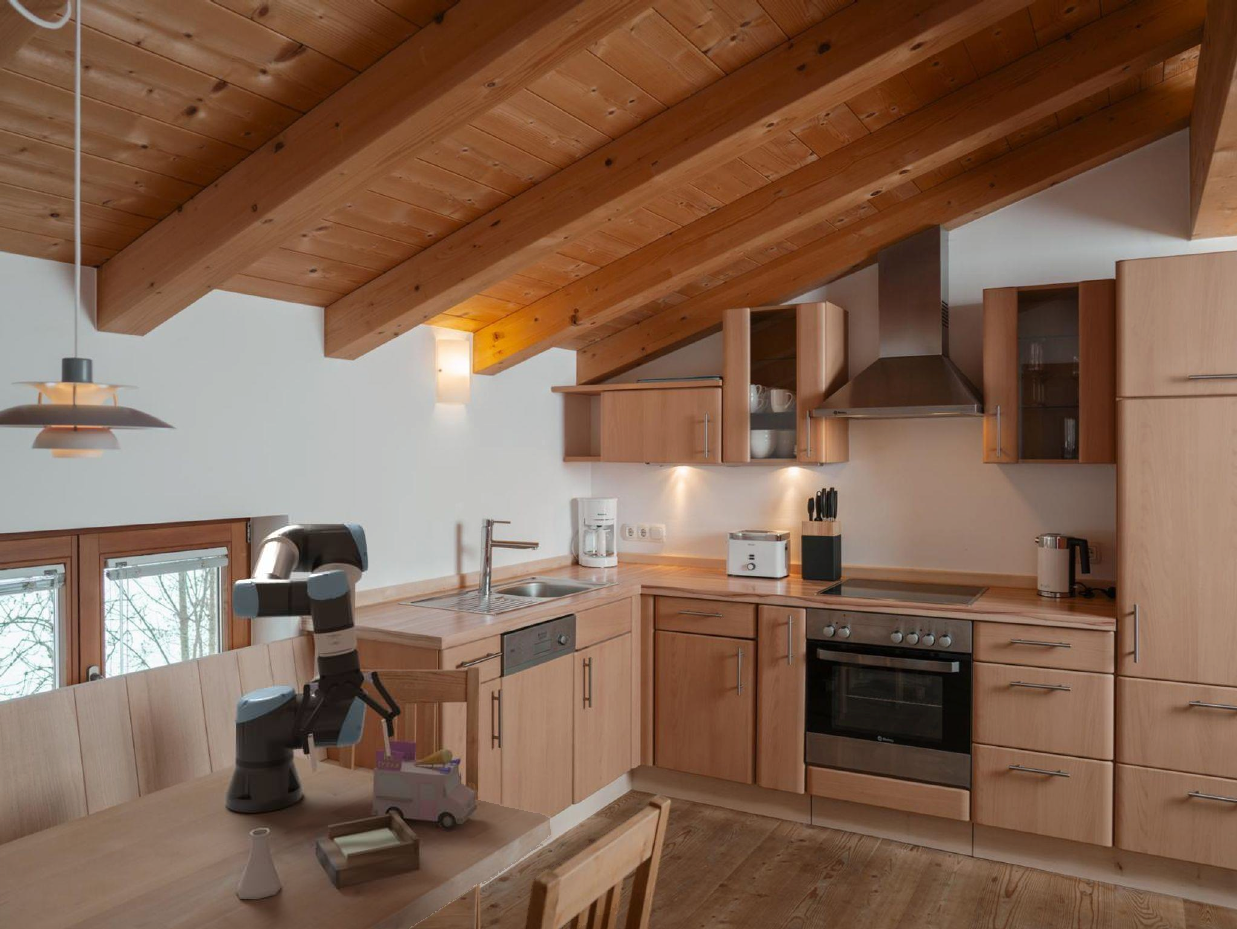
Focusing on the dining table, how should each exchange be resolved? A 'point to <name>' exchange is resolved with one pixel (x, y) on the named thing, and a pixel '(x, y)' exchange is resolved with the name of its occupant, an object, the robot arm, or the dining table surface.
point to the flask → (259, 869)
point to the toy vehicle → (421, 786)
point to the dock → (368, 849)
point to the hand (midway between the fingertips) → (352, 762)
